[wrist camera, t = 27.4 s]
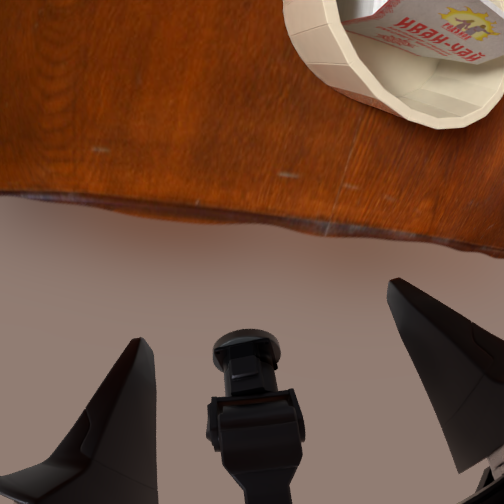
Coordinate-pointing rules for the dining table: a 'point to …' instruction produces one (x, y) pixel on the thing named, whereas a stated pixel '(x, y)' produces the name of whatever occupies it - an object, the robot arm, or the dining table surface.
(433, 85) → the holder
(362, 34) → the tea bag
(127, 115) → the dining table surface
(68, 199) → the dining table surface
